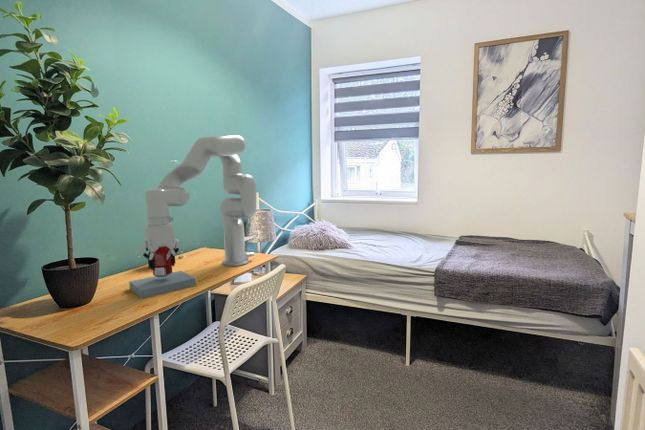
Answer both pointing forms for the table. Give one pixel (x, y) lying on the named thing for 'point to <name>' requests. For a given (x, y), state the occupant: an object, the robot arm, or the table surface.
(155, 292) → the block
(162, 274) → the soda can
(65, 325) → the table surface
